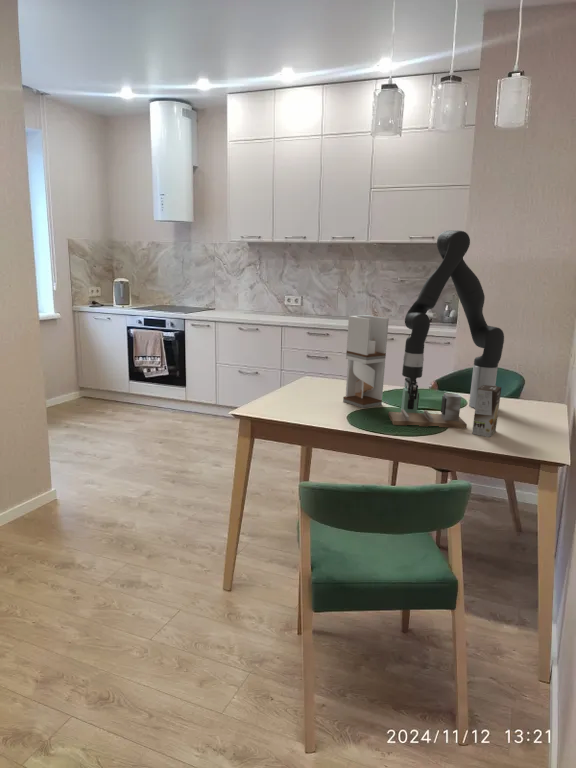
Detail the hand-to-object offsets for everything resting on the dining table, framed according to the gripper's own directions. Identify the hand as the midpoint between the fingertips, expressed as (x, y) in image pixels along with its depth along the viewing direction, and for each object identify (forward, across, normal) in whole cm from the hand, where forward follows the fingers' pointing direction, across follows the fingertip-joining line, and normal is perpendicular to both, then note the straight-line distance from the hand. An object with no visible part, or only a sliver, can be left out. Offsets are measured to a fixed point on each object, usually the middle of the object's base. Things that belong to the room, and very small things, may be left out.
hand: (409, 406), depth 217 cm
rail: (+2, -13, -4) cm, 14 cm away
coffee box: (+2, -23, -22) cm, 32 cm away
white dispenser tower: (+2, +10, +17) cm, 20 cm away
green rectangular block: (+2, 0, 0) cm, 2 cm away
